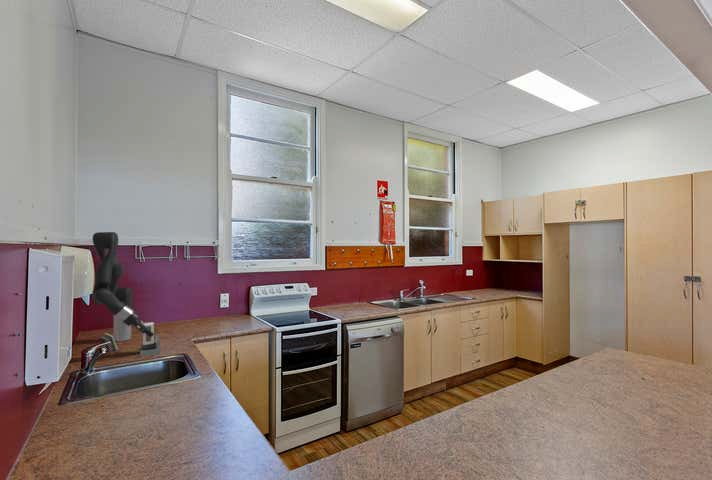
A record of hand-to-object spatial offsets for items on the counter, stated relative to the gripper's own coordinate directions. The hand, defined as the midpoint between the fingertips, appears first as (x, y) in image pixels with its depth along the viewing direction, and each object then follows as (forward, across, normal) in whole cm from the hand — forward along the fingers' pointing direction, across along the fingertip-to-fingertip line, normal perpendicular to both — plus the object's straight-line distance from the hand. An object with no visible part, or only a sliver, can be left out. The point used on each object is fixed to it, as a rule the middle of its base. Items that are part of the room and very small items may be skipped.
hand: (152, 334), depth 196 cm
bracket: (+6, 0, +8) cm, 10 cm away
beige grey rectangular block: (+2, 0, +5) cm, 5 cm away
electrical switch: (-8, +14, +22) cm, 27 cm away
